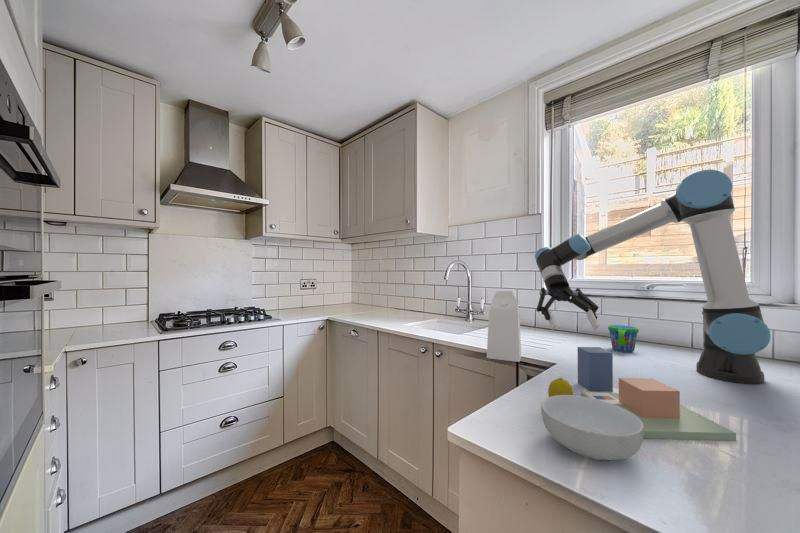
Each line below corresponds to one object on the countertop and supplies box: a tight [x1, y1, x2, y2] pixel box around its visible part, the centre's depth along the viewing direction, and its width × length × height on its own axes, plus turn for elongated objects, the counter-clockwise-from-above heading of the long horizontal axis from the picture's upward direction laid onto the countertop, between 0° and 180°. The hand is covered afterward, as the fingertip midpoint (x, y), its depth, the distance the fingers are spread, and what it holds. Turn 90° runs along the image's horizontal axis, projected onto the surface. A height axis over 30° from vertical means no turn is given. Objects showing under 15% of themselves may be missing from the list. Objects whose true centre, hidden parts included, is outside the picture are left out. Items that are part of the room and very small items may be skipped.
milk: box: [486, 290, 522, 363], centre depth 124 cm, size 12×12×26 cm
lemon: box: [548, 377, 575, 397], centre depth 76 cm, size 6×6×8 cm
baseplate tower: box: [580, 377, 737, 442], centre depth 73 cm, size 20×20×8 cm
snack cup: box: [607, 324, 639, 353], centre depth 132 cm, size 16×10×10 cm
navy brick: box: [577, 346, 614, 393], centre depth 91 cm, size 6×6×11 cm
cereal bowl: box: [540, 394, 644, 461], centre depth 60 cm, size 17×17×7 cm
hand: (575, 327), depth 102 cm, fingers open, 13 cm apart
